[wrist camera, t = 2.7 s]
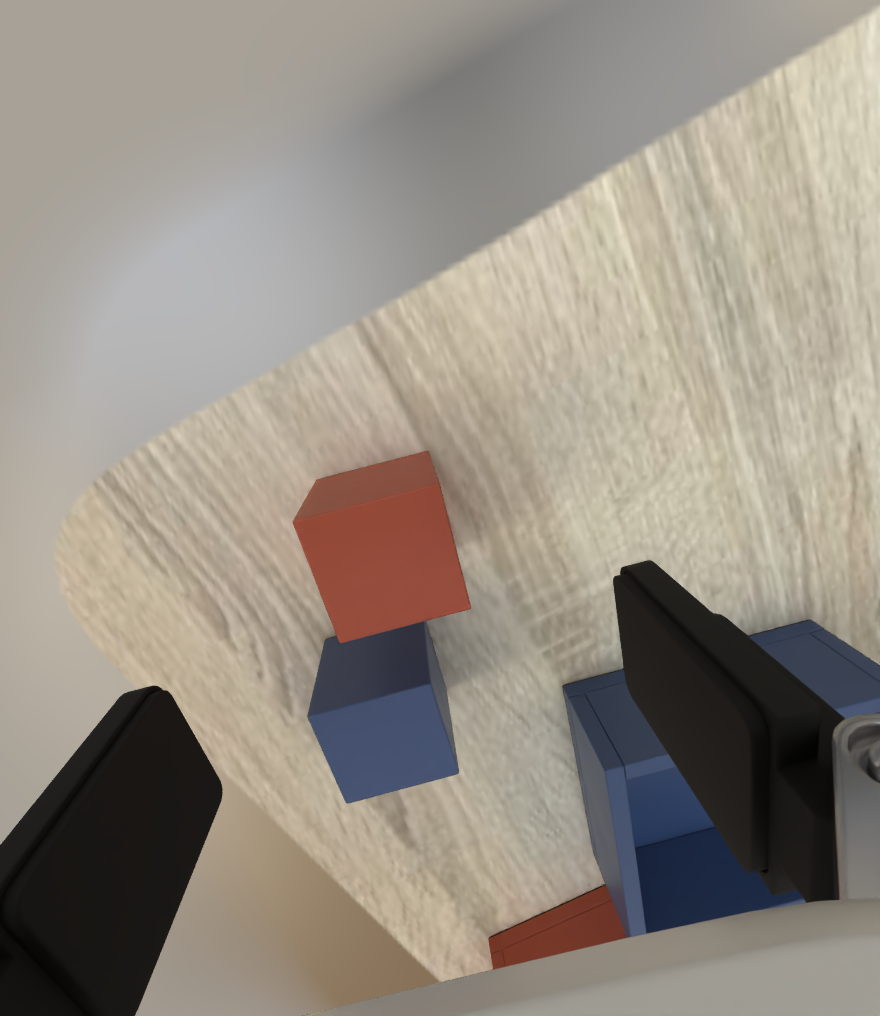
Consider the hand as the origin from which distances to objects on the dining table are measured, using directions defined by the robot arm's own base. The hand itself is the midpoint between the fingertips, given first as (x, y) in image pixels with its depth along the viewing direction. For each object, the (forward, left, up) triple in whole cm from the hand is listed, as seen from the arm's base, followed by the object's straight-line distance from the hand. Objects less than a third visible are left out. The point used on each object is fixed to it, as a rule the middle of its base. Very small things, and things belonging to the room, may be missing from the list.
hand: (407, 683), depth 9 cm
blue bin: (+12, -17, -10) cm, 23 cm away
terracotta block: (0, 0, -10) cm, 10 cm away
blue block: (-2, -7, -10) cm, 12 cm away
